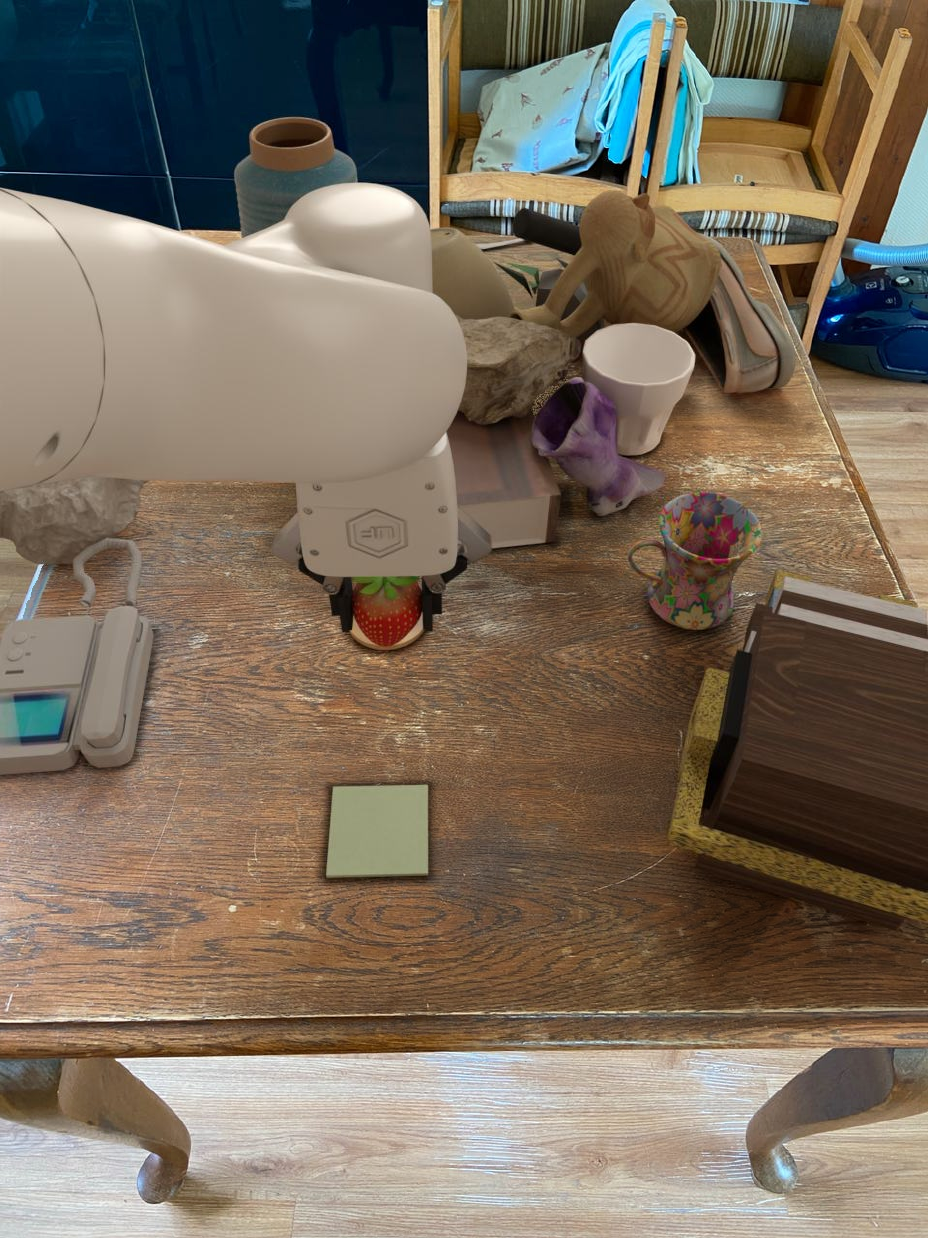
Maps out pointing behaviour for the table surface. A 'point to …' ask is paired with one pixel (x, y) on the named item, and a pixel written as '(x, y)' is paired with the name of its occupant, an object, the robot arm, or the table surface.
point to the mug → (699, 558)
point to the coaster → (409, 638)
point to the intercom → (75, 680)
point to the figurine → (591, 447)
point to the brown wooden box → (816, 755)
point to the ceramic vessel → (632, 269)
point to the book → (504, 480)
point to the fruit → (386, 607)
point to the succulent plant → (545, 288)
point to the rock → (511, 366)
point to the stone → (67, 516)
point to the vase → (286, 169)
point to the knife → (497, 243)
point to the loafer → (741, 336)
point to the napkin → (378, 831)
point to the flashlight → (547, 231)
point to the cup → (638, 379)
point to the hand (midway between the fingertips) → (388, 615)
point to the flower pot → (466, 277)
